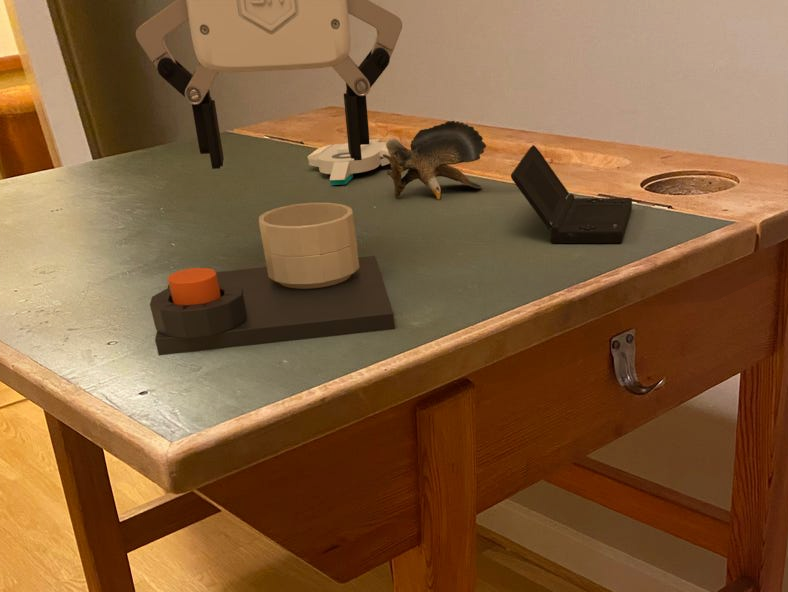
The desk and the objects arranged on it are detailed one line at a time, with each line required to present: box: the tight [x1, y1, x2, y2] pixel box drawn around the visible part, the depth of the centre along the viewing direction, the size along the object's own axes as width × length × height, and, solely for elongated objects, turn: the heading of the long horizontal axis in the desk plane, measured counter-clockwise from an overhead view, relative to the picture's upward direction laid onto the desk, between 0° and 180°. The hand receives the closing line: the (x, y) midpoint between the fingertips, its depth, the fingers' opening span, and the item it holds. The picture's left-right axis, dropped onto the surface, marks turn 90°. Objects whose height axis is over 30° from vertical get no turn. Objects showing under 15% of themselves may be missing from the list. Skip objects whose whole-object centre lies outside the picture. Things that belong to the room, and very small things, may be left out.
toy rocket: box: [307, 138, 391, 186], centre depth 111 cm, size 16×10×2 cm, turn 172°
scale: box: [149, 255, 396, 356], centre depth 74 cm, size 16×15×3 cm
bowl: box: [258, 202, 359, 289], centre depth 75 cm, size 7×7×4 cm
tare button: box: [167, 267, 221, 305], centre depth 68 cm, size 3×3×2 cm
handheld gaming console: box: [510, 144, 633, 245], centre depth 87 cm, size 12×7×10 cm
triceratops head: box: [383, 120, 487, 200], centre depth 99 cm, size 8×7×9 cm
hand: (287, 160), depth 72 cm, fingers open, 9 cm apart
